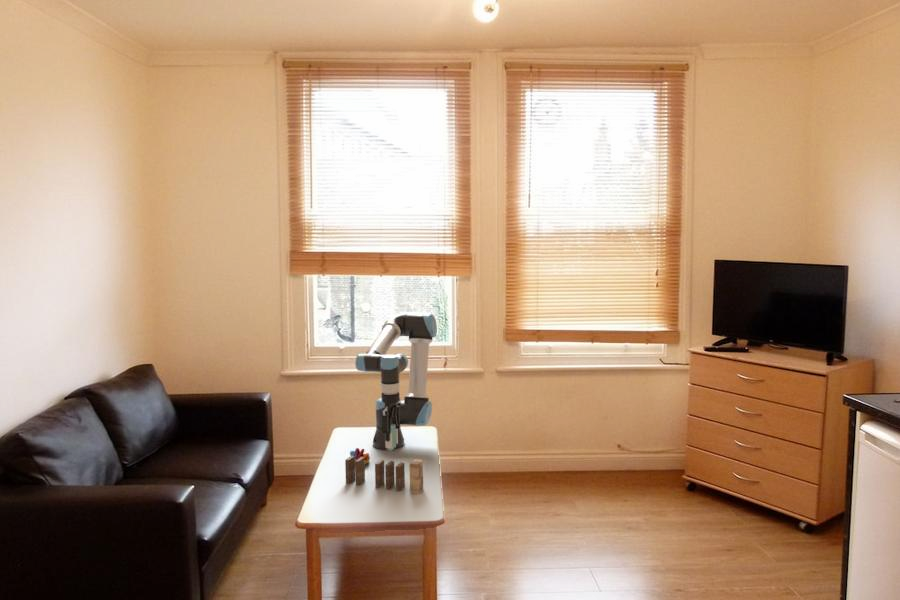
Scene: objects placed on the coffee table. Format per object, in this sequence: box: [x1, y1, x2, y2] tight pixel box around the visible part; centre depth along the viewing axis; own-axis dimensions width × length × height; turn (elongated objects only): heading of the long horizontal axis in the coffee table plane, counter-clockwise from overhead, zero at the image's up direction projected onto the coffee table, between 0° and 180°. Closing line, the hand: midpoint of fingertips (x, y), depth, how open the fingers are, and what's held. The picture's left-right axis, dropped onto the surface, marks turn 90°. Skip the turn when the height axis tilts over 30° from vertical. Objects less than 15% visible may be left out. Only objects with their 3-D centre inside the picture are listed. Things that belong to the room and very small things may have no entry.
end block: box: [409, 458, 424, 495], centre depth 241 cm, size 5×4×12 cm
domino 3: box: [374, 459, 386, 489], centre depth 246 cm, size 2×5×10 cm, turn 160°
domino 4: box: [384, 460, 396, 491], centre depth 245 cm, size 2×5×10 cm, turn 160°
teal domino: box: [386, 424, 396, 452], centre depth 258 cm, size 2×5×10 cm, turn 160°
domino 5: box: [394, 461, 406, 492], centre depth 243 cm, size 2×5×10 cm, turn 160°
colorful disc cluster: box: [349, 447, 371, 465], centre depth 271 cm, size 8×10×7 cm
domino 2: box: [355, 457, 366, 486], centre depth 250 cm, size 2×5×10 cm, turn 160°
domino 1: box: [344, 455, 356, 485], centre depth 251 cm, size 2×5×10 cm, turn 160°
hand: (391, 445), depth 259 cm, fingers closed on teal domino, 5 cm apart
